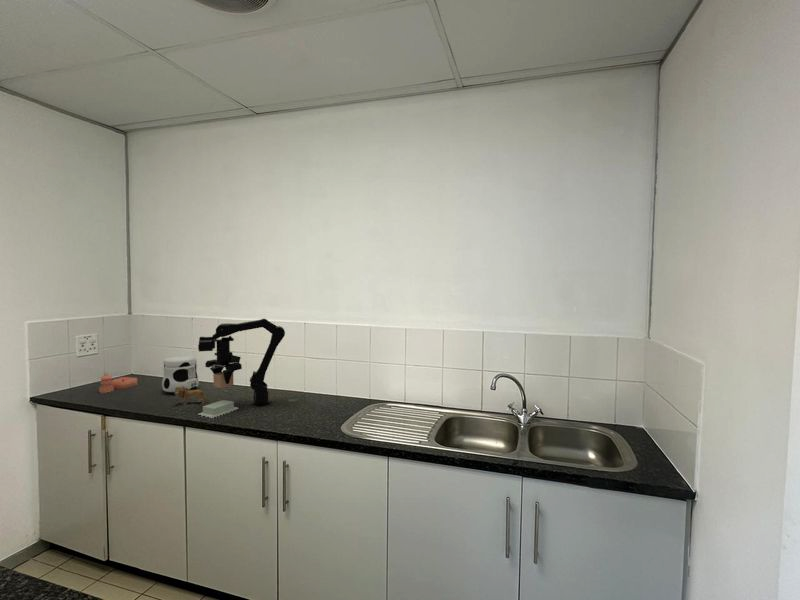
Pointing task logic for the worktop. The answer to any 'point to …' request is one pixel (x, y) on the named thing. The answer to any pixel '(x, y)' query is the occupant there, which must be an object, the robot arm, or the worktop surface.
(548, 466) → the worktop surface
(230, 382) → the terracotta brick
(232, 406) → the grey scalloped base block
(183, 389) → the lion figurine
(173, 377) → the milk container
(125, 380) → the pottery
